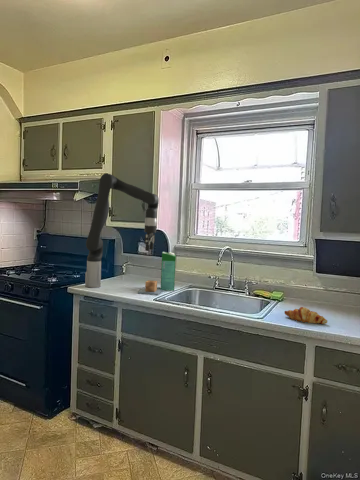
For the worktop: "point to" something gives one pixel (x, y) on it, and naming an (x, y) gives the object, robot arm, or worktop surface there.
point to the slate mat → (150, 292)
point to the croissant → (305, 315)
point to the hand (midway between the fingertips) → (149, 250)
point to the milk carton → (168, 271)
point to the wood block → (151, 286)
